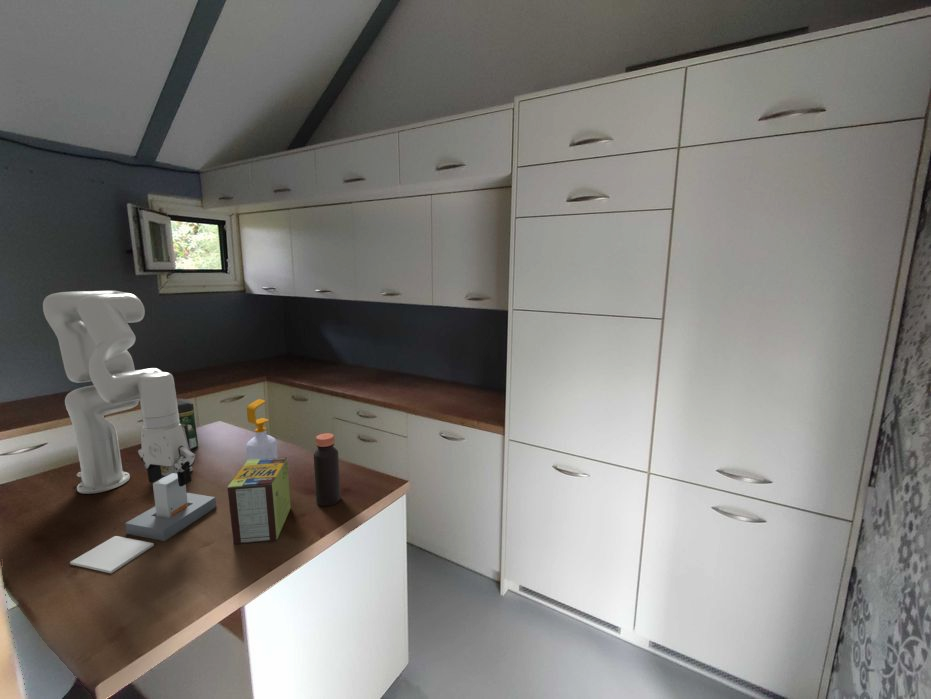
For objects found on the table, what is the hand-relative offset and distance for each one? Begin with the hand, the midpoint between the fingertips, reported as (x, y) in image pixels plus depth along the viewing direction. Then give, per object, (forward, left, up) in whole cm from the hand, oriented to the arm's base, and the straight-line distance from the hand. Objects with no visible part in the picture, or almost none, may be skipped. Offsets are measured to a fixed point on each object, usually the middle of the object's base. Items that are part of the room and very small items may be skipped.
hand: (170, 482), depth 111 cm
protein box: (+24, +4, -11) cm, 27 cm away
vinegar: (+34, +19, -11) cm, 41 cm away
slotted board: (-1, 0, -11) cm, 11 cm away
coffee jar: (-39, +39, -11) cm, 56 cm away
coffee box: (-25, +22, -11) cm, 35 cm away
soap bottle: (+3, +30, -11) cm, 32 cm away
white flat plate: (-2, -15, -11) cm, 19 cm away
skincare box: (-1, 0, -11) cm, 11 cm away
